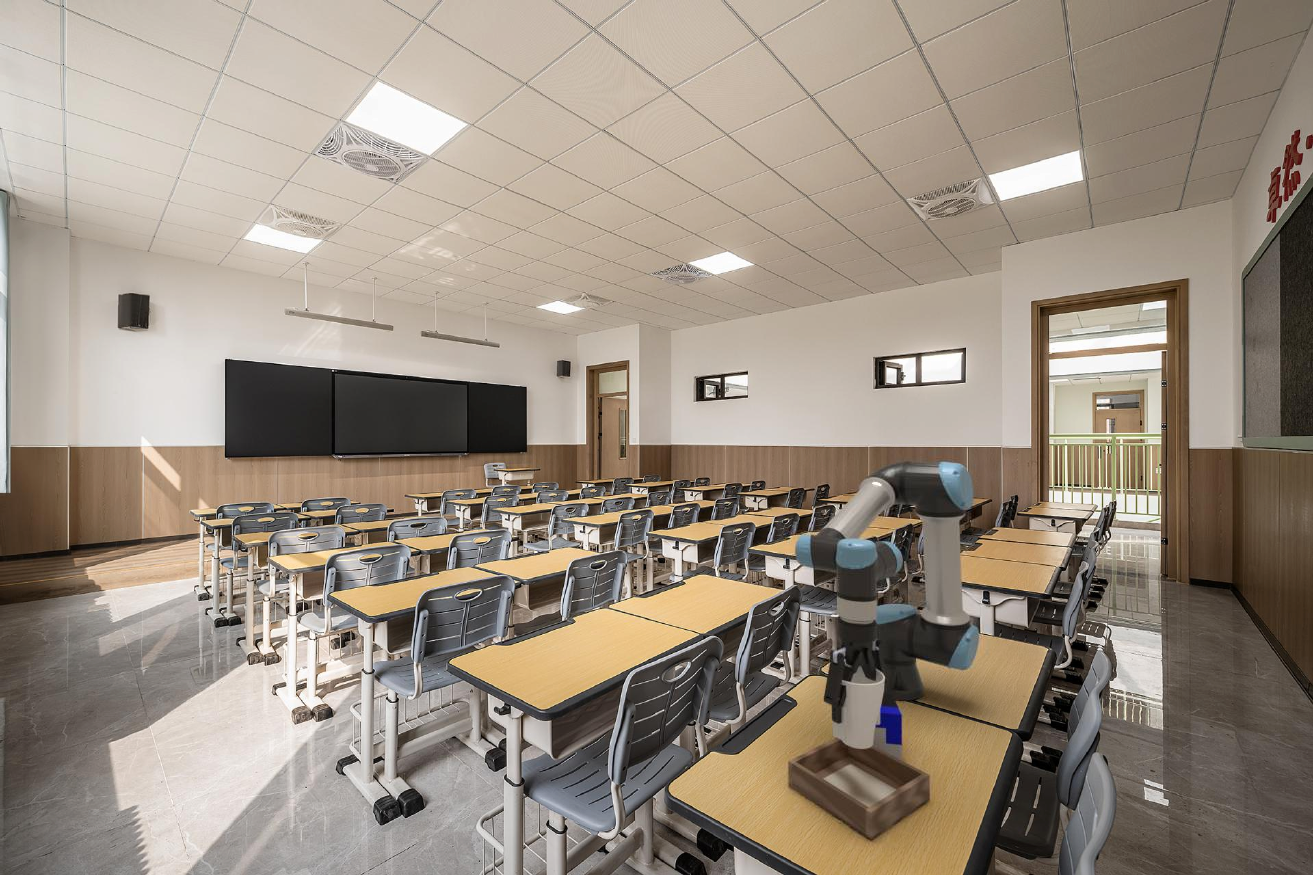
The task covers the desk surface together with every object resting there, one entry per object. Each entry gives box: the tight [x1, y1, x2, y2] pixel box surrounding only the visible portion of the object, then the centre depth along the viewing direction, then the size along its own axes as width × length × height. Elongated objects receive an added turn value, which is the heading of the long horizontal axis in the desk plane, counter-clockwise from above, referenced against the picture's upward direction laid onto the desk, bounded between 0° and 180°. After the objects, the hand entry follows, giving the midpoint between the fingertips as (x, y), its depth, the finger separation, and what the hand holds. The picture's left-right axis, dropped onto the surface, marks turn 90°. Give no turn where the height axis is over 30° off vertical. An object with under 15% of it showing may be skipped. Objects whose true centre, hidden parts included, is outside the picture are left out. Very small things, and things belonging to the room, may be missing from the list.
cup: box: [841, 662, 885, 749], centre depth 111 cm, size 10×10×14 cm
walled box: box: [787, 737, 931, 842], centre depth 111 cm, size 19×19×5 cm
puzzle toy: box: [872, 693, 903, 761], centre depth 128 cm, size 10×10×10 cm
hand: (856, 729), depth 111 cm, fingers closed on cup, 10 cm apart
